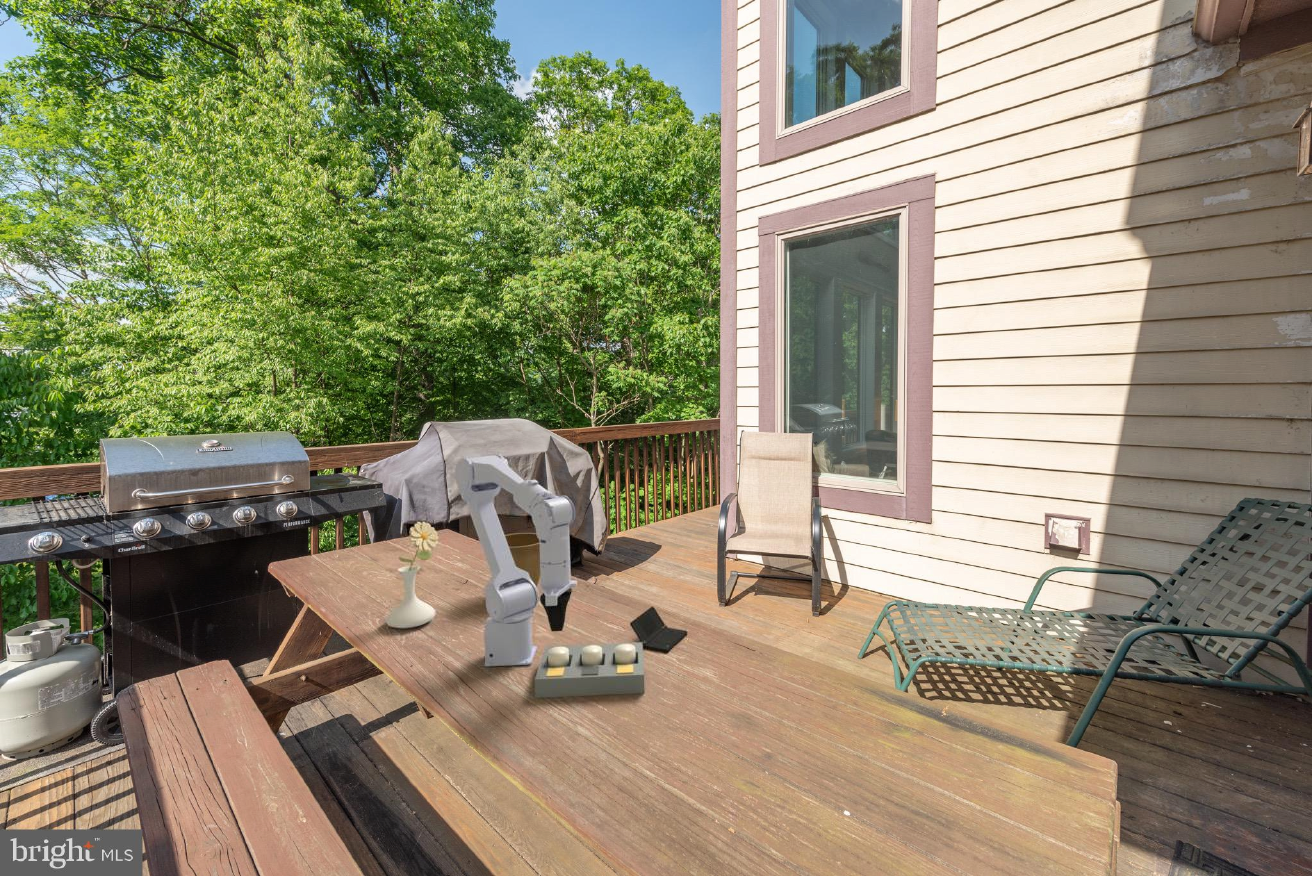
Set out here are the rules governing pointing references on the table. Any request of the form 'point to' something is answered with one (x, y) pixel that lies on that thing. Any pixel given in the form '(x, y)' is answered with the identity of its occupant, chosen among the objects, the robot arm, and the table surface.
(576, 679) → the button board
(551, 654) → the button left
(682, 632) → the handheld gaming console
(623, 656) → the button right
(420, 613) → the flower in vase
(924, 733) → the table surface
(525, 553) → the plant pot
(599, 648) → the button middle
